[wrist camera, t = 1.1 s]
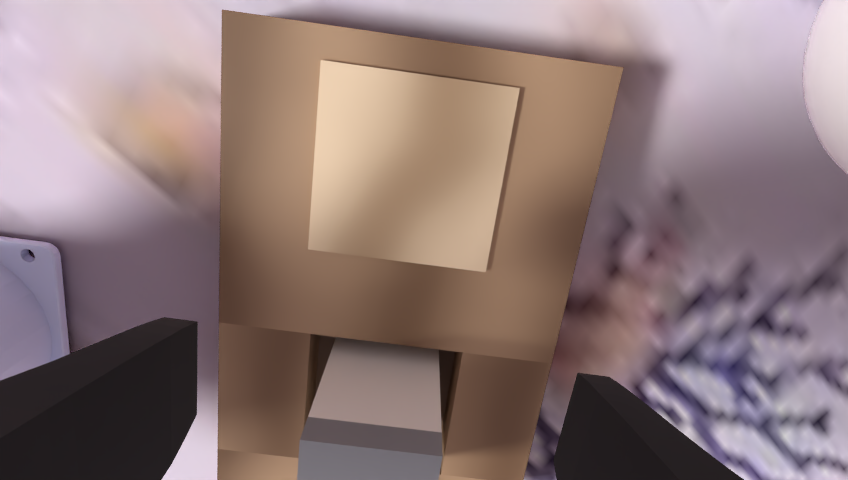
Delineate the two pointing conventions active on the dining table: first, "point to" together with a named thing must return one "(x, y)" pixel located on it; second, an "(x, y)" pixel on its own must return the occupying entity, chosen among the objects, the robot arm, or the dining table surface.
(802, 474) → the dining table surface
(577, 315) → the dining table surface
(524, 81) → the board
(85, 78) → the dining table surface
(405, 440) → the plug
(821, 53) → the lidded jar
